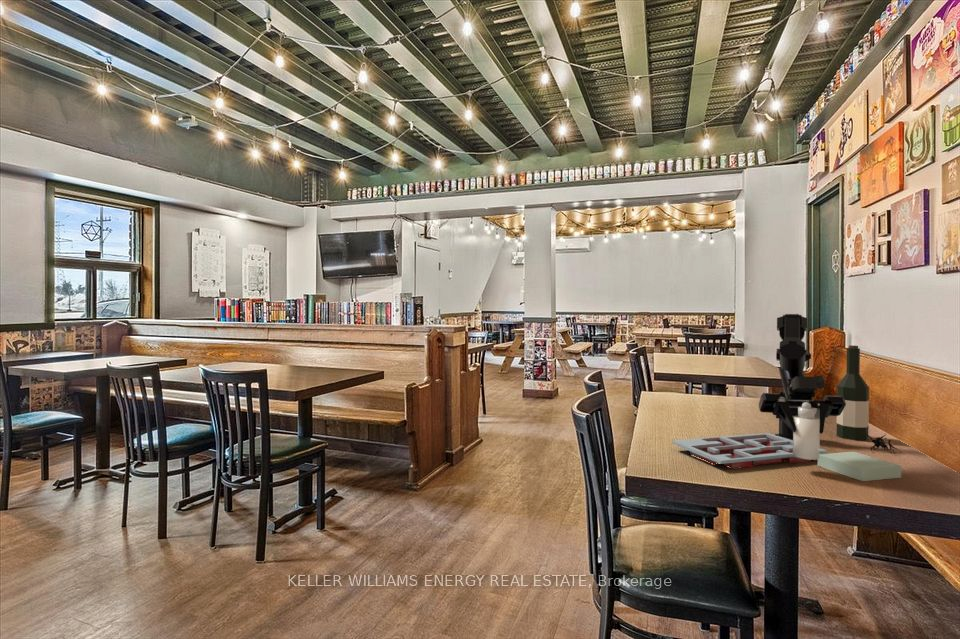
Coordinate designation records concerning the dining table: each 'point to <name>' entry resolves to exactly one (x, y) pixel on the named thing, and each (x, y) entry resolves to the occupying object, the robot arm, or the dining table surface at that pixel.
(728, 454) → the maze game
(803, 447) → the pepper mill
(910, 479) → the dining table surface
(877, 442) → the creature
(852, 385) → the wine bottle
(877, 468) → the plinth
